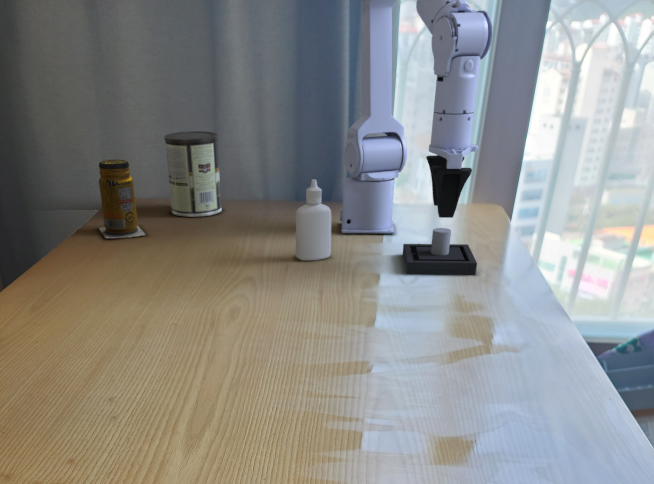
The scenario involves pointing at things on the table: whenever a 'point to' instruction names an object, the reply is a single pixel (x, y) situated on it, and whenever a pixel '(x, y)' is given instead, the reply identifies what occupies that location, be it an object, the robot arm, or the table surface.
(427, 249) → the stud pad
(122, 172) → the condiment
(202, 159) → the coffee can
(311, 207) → the eye dropper bottle
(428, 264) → the socket pad
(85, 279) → the table surface
